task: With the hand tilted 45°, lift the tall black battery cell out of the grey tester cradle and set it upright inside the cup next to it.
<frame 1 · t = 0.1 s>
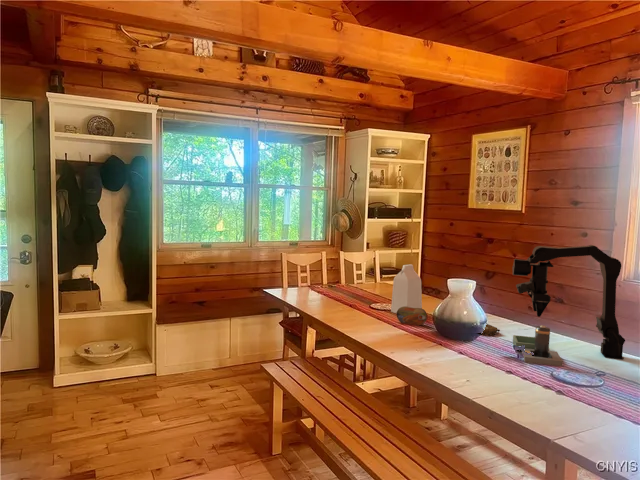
hand: (536, 313, 186), 15 cm above the table, tool pointing down, fingers open, 9 cm apart
tester cradle: (540, 359, 174), on the table
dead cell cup: (527, 348, 187), on the table
milk: (406, 312, 243), on the table
battery cell: (541, 342, 174), in the tester cradle
decorative rock: (482, 332, 211), on the table
tin: (411, 324, 222), on the table
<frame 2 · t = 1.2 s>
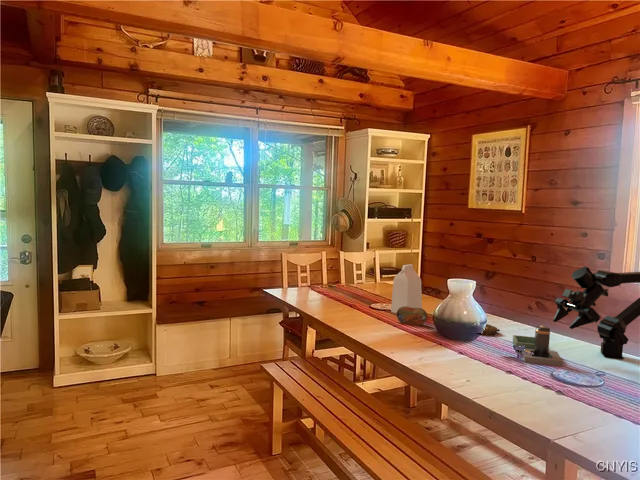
hand: (561, 324, 175), 14 cm above the table, tool tilted 45°, fingers open, 9 cm apart
nothing on the table moved.
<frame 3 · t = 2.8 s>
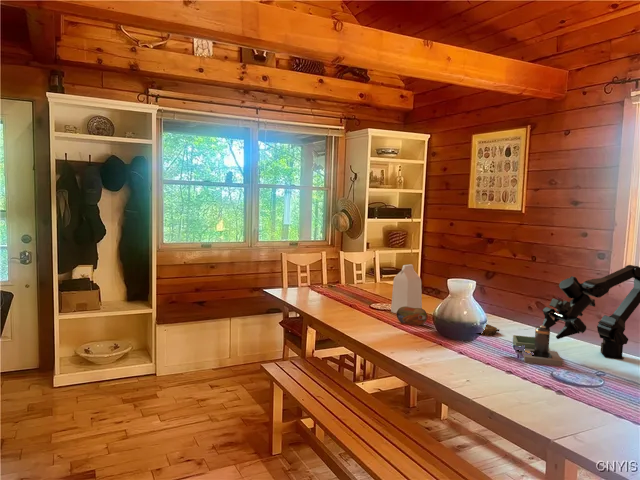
hand: (548, 334, 174), 10 cm above the table, tool tilted 45°, fingers open, 9 cm apart
nothing on the table moved.
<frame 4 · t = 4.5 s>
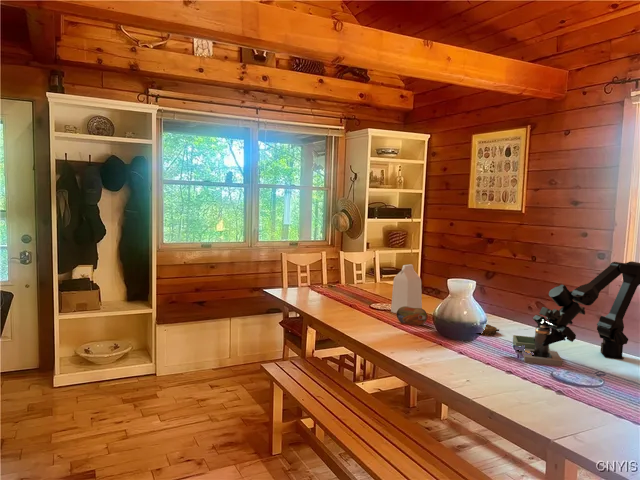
hand: (538, 343, 174), 7 cm above the table, tool tilted 45°, fingers closed on battery cell, 5 cm apart
battery cell: (541, 342, 174), in the tester cradle, touching gripper
everything else where it was.
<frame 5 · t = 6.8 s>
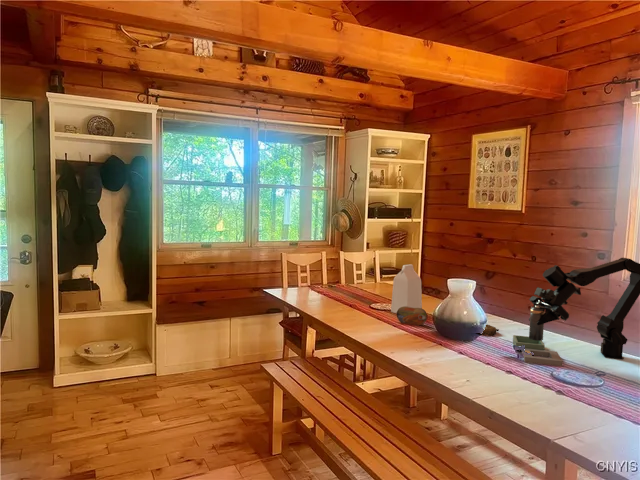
hand: (533, 322, 177), 13 cm above the table, tool tilted 45°, fingers closed on battery cell, 5 cm apart
battery cell: (536, 322, 178), point 14 cm above the table, touching gripper
everything else where it was.
when the fingers open (9 cm above the table, at t = 9.0 s): battery cell drops 1 cm, resting on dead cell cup.
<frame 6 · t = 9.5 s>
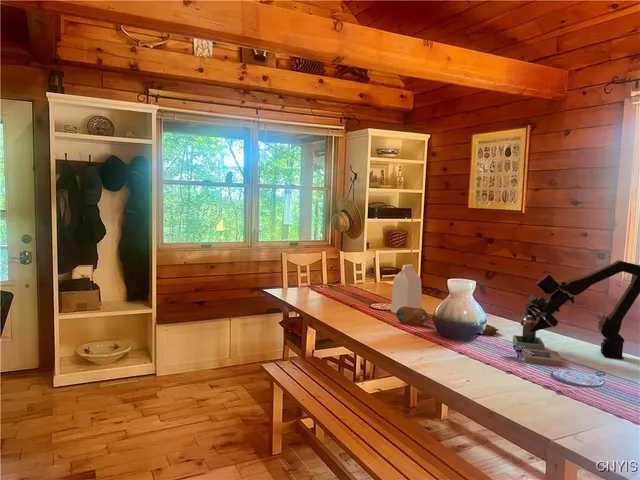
hand: (525, 327, 186), 9 cm above the table, tool tilted 45°, fingers open, 9 cm apart
battery cell: (529, 331, 187), in the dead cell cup, point 7 cm above the table
everything else where it was.
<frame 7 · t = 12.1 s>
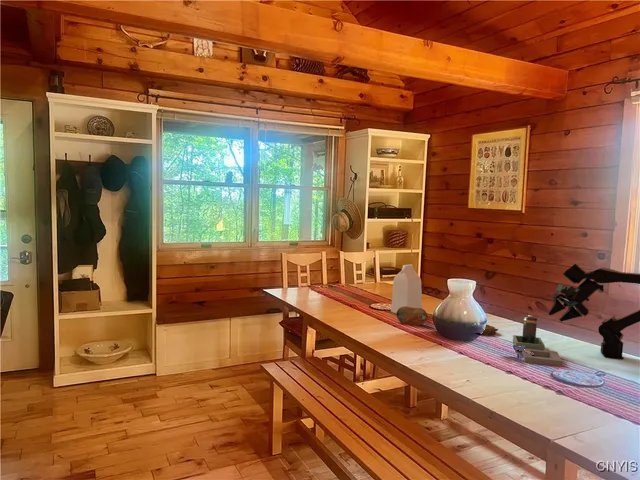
hand: (554, 317, 185), 14 cm above the table, tool tilted 45°, fingers open, 9 cm apart
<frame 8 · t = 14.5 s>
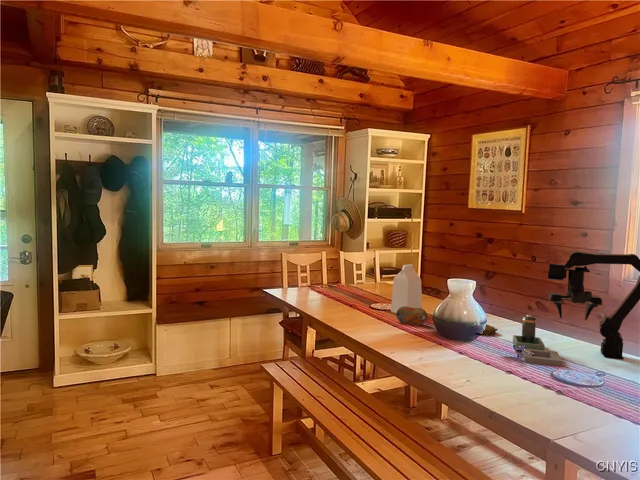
hand: (573, 319, 185), 13 cm above the table, tool pointing down, fingers open, 9 cm apart
at the end: battery cell 0.1 cm off-centre on the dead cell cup, point 7.3 cm above the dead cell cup's base; battery cell tilted 2°; the gripper is holding nothing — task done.
